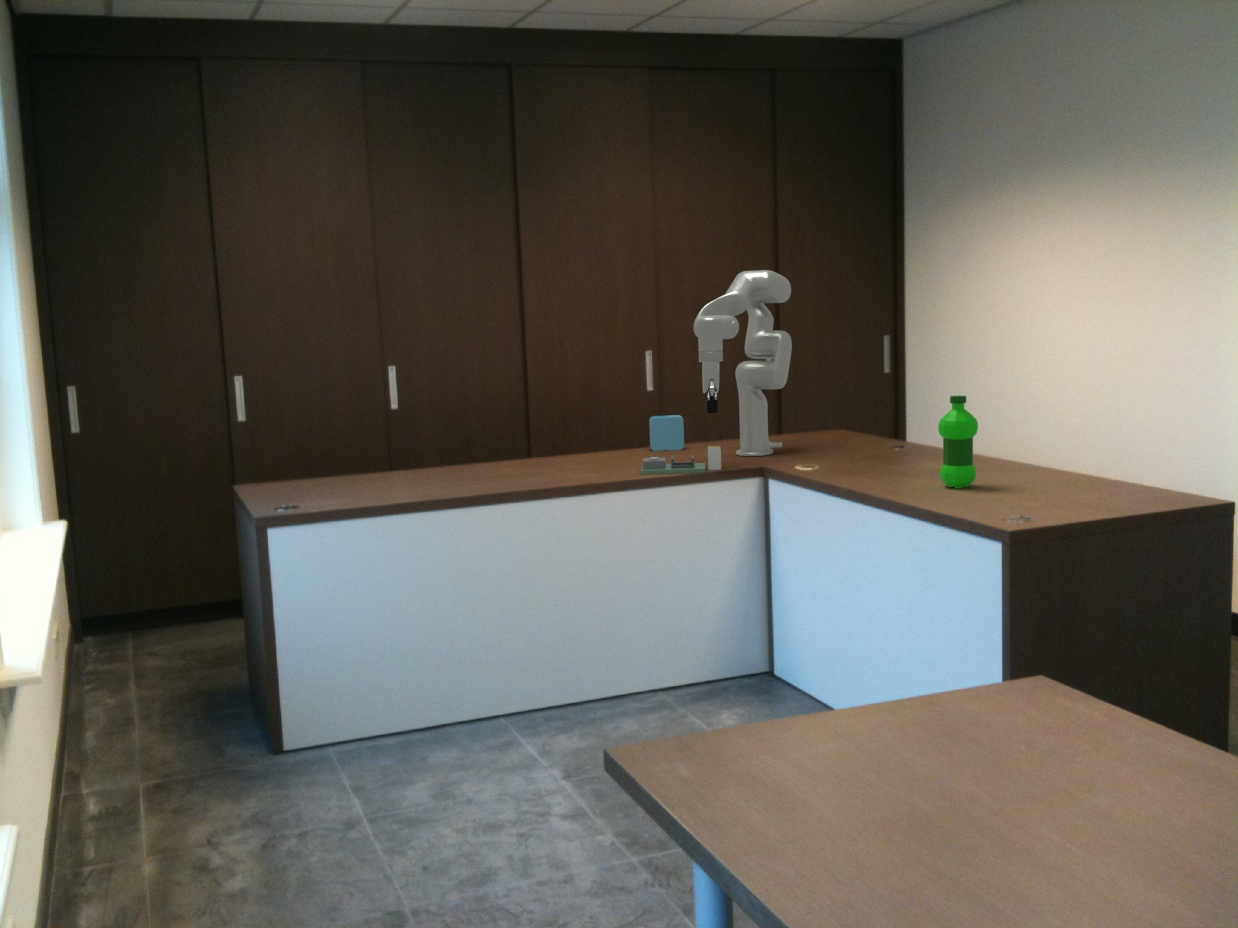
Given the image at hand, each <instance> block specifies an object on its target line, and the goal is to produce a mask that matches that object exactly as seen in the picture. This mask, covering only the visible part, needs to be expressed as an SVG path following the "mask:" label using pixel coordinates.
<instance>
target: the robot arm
mask: <svg viewBox="0 0 1238 928" xmlns="http://www.w3.org/2000/svg"><path fill="white" fill-rule="evenodd" d="M791 294H792V286H791V283H790V281H789V280H788V278H786V277H785V276H784V275H781V274H780V273H778V272H775V271H773V270H769V269H760V270H759V269H757V270H744V271H741V272H739V273H738V274H736V276H735V278H734V280H733V281H732V282H731V284H730V286H729V288H727V290H726V292H725V293H724V294H723V295H721V296H719V297H717V298H715V299H713V300H712V301H710V302H708V303H707V304H705V305H704V306H703V307H702V308H701V310H699V312H698V314H697V316H696V318H695V320H694V322H693V332H694V335H695V336H696V337H697V340H698V344H697V345H698V363H702V366H701V369H702V370H701V375H702V376H701V377H702V379H701V380H702V393H703V394H706V393H707V397H706V409H707V414H718V413H719V411H718V410H719V407H718V405H719V404H718V397H717V395H718V393H719V392H720V391H719V390H720V362H724V352H723V350H724V348H723V346H724V345H723V344H724V343H723V342H724V341H723V340H729V339H733V338H736V336H737V334H738V333H739V331H740V323H739V320H738V319H737V318H736V317H735V316H738V315H741V314H743V313H744V312H745V311H746V312H747V316H748V321H747V328H746V335H745V340H744V341H745V342H744V353H745V355H746V356H747V358H750V359H755V360H745V361H742V362H739V364H738V365H737V366H736V368H735V380H736V381H735V382H736V384H737V385H736V387H737V391H738V405H739V407H738V408H739V409H738V411H739V414H738V415H739V445H740V446H739V447H740V449H737V450H736V451H735V455H736V456H740V457H742V456H743V457H762V456H763V457H764V456H770V455H772V454H774V450H773V449H782V448H783V442H779V441H777V442H776V441H774V442H773V441H770V439H769V417H768V414H769V413H768V411H769V410H768V408H769V407H768V400H767V397H766V396H765V394H764V393H763V391H762V390H781V389H783V388H784V387H785V386H786V384H787V381H788V377H789V371H790V363H791V357H792V349H793V346H792V345H793V344H792V337H791V335H790V334H789V333H788V332H787V331H785V330H773V329H774V321H775V320H774V316H773V314H772V312H771V311H770V309H768V307H767V306H766V305H765V304H781V303H786V302H788V300H789V299H790V297H791Z"/></svg>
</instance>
